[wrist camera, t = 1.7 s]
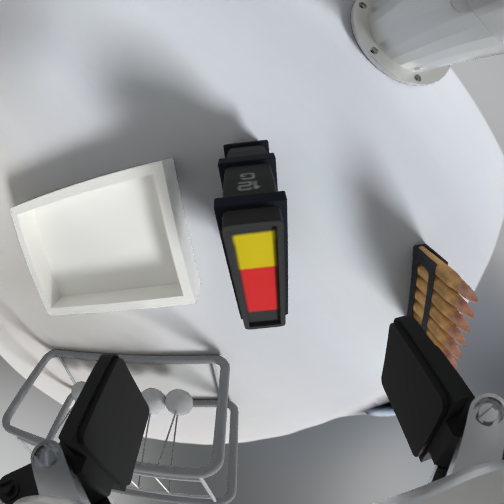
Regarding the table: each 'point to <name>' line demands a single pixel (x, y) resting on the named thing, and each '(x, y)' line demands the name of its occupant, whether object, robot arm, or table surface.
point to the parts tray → (110, 243)
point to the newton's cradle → (175, 403)
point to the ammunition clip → (439, 301)
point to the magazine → (254, 233)
